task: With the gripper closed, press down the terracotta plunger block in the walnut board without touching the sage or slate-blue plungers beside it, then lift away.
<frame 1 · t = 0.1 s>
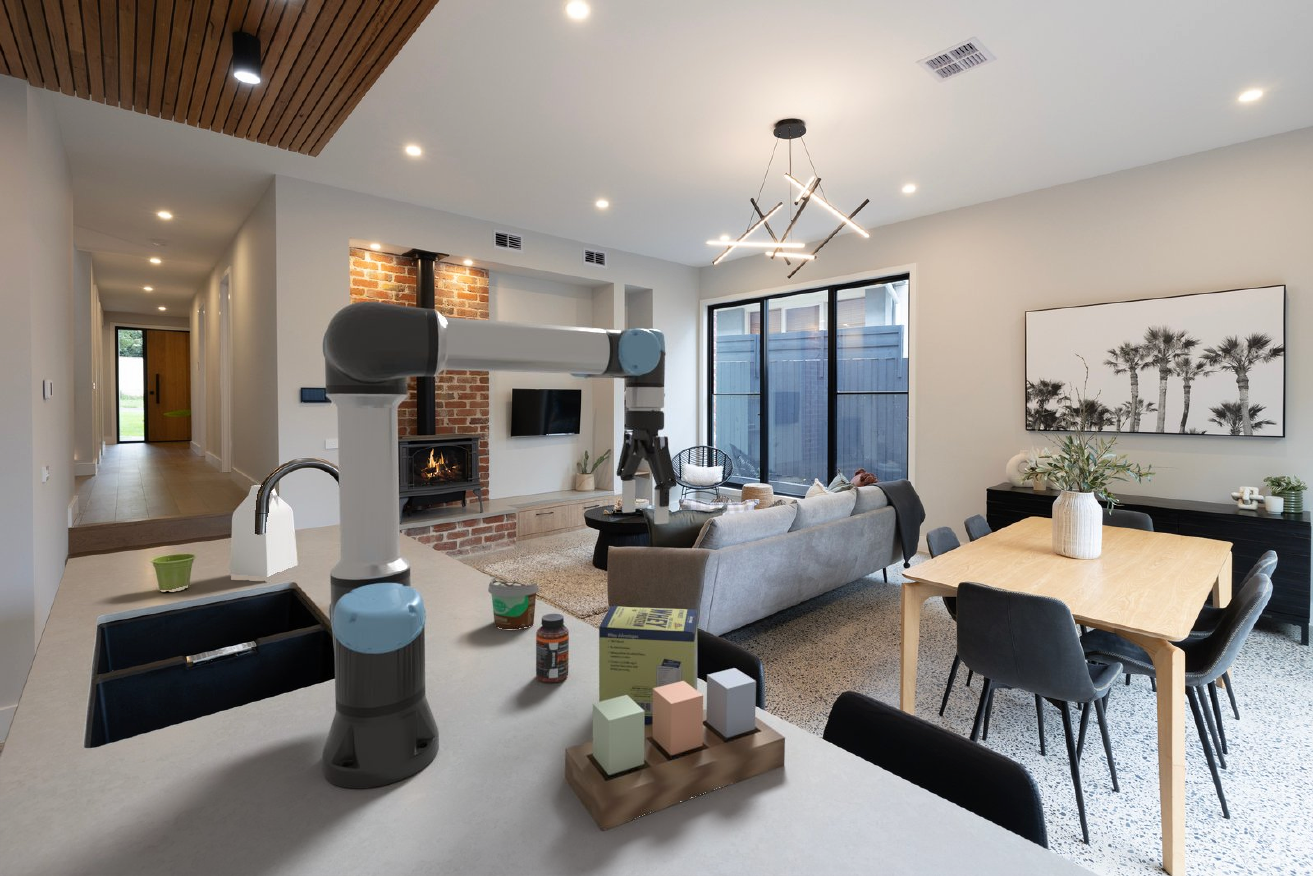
hand: (644, 517, 122), 28 cm above the worktop, tool pointing down, fingers open, 13 cm apart
walnut board: (676, 771, 85), on the worktop
plant pot: (174, 590, 164), on the worktop
supplement bottle: (552, 678, 114), on the worktop
plunger sage: (618, 733, 80), point 8 cm above the worktop, slide at 0.0 cm
plunger terracotta: (677, 716, 85), point 8 cm above the worktop, slide at 0.0 cm
milk: (265, 576, 178), on the worktop
protein box: (649, 710, 103), on the worktop
plunger slate: (730, 701, 89), point 8 cm above the worktop, slide at 0.0 cm
food container: (508, 627, 139), on the worktop
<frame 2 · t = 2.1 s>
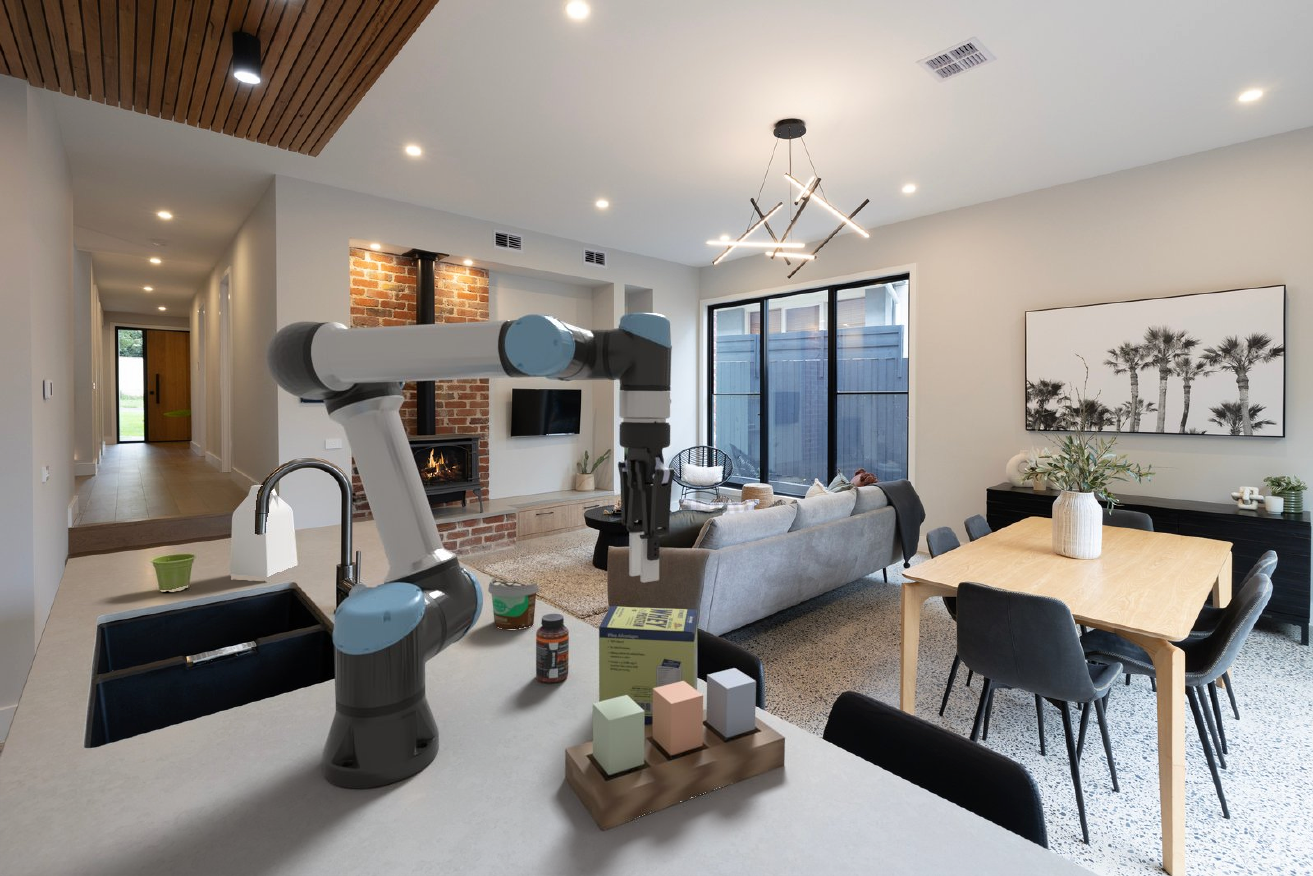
hand: (643, 577, 93), 25 cm above the worktop, tool pointing down, fingers open, 3 cm apart
nothing on the worktop moved.
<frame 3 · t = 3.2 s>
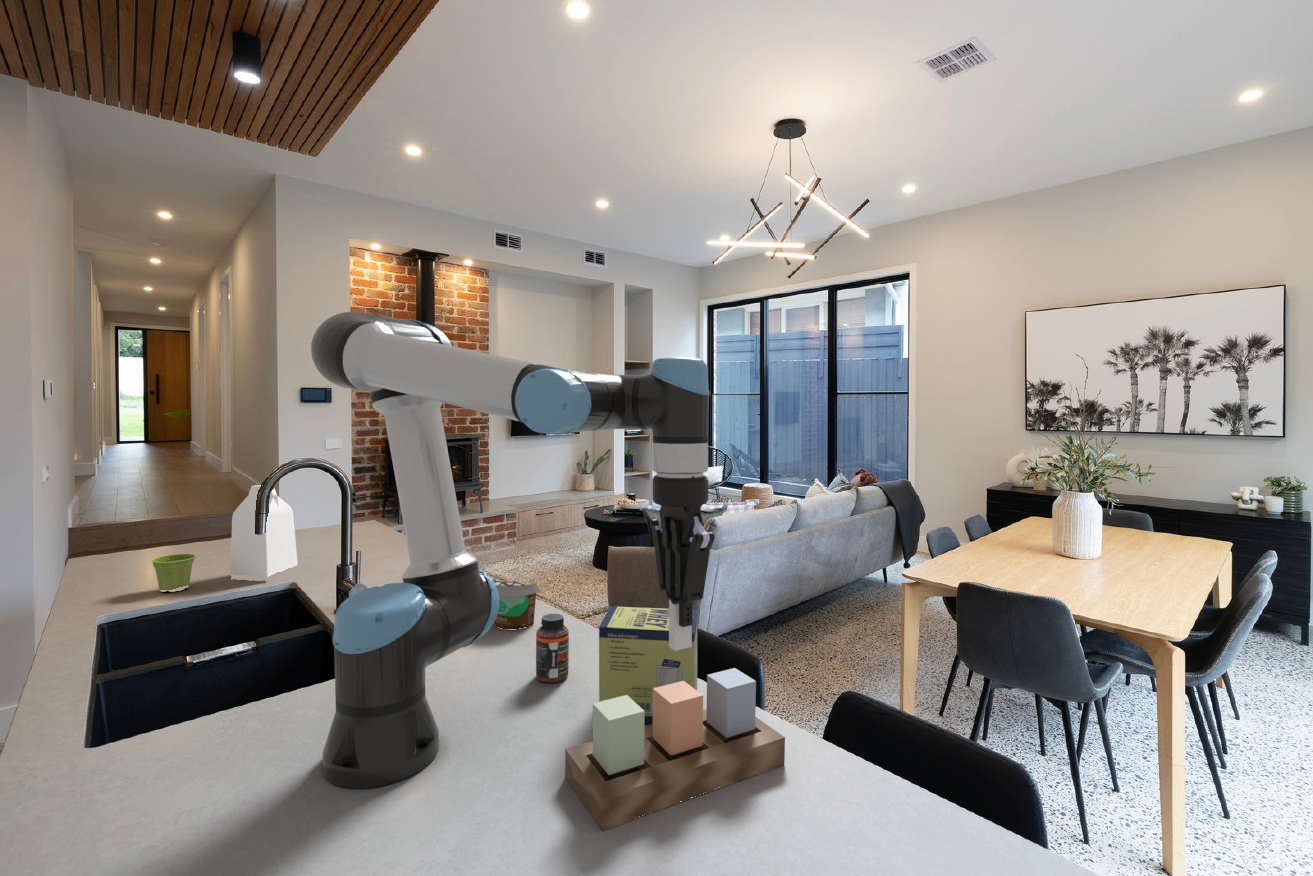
hand: (680, 646, 84), 18 cm above the worktop, tool pointing down, fingers closed
nothing on the worktop moved.
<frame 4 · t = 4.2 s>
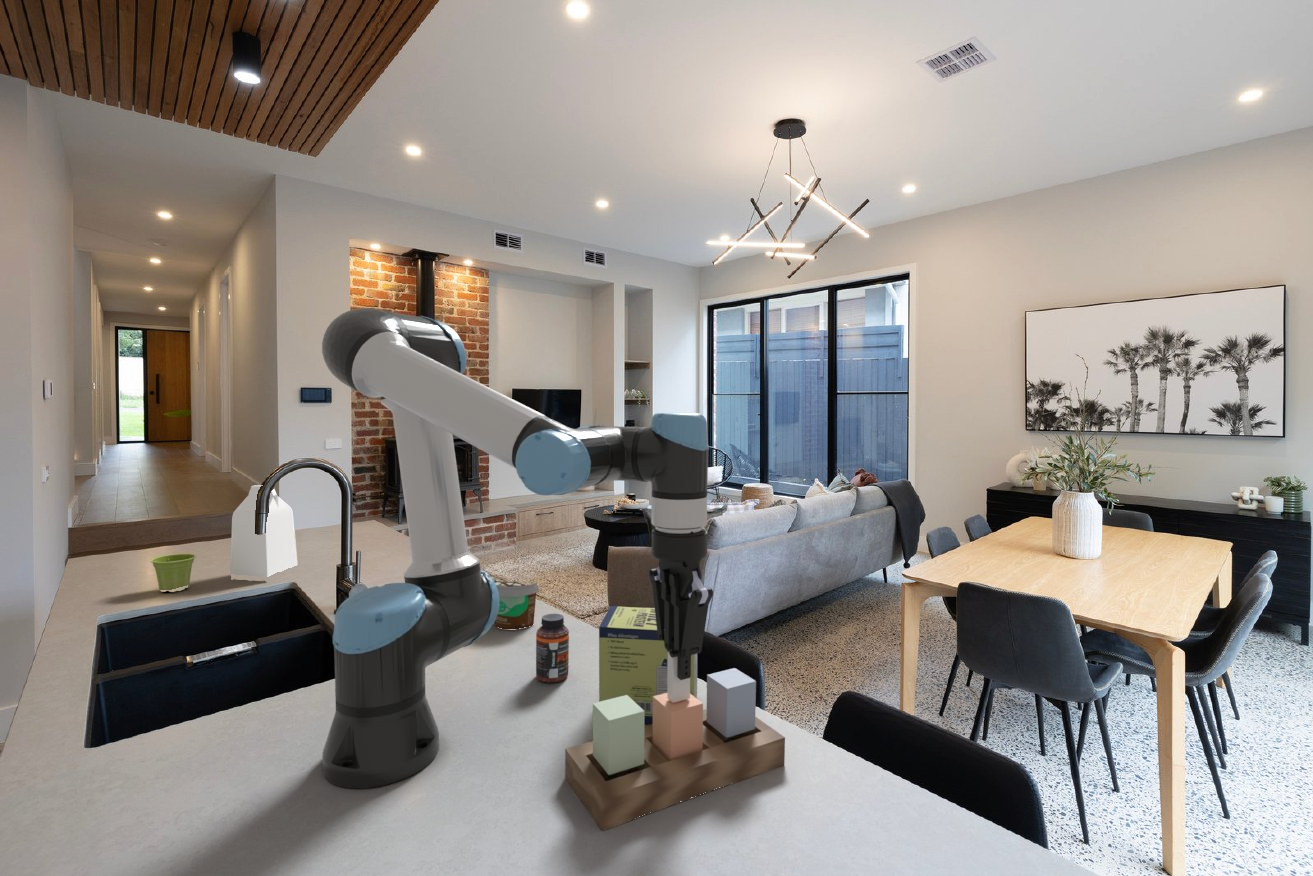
hand: (678, 698, 85), 10 cm above the worktop, tool pointing down, fingers closed
plunger terracotta: (677, 724, 85), point 7 cm above the worktop, slide at 1.1 cm, touching gripper
everything else where it was.
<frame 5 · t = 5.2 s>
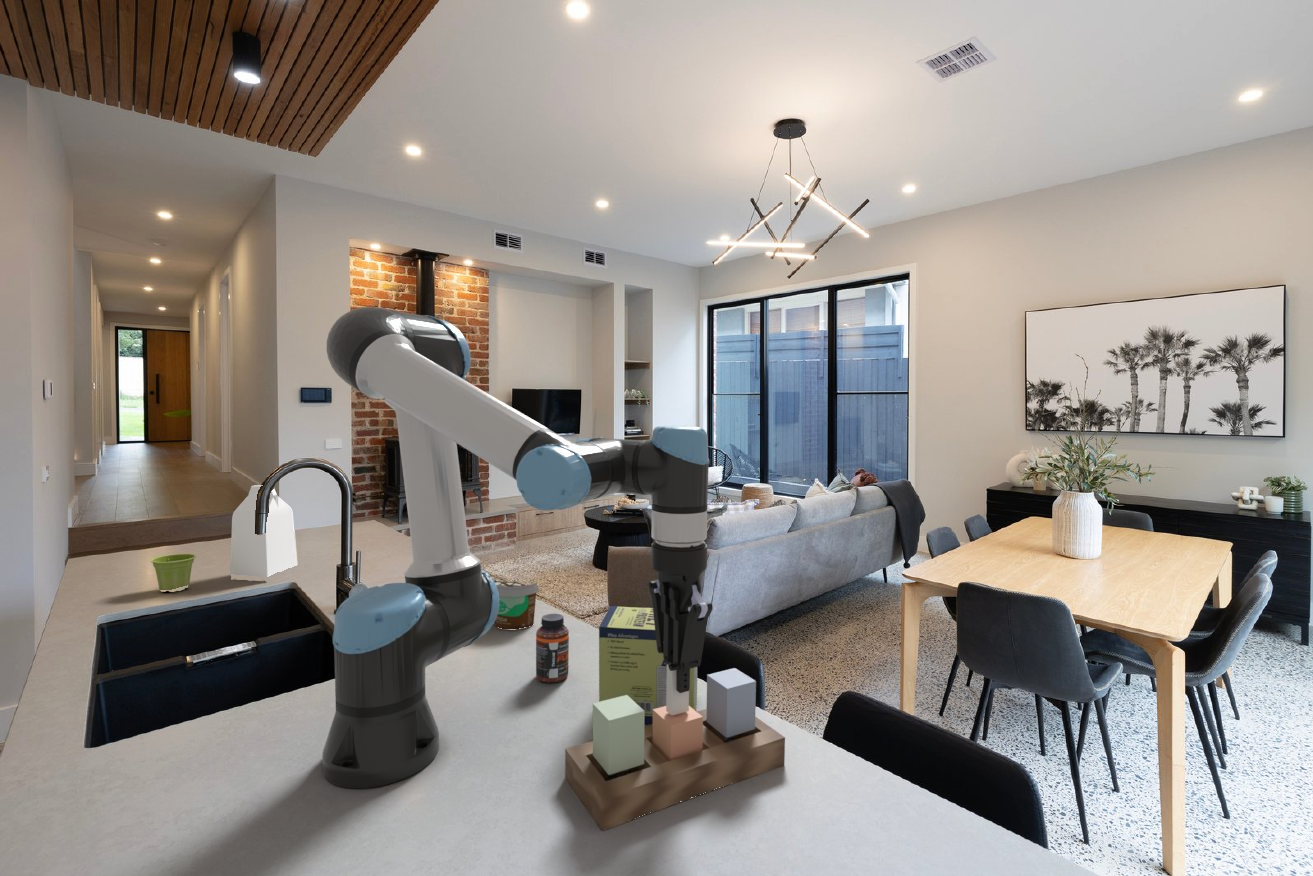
hand: (677, 710, 85), 9 cm above the worktop, tool pointing down, fingers closed
plunger terracotta: (677, 737, 85), point 5 cm above the worktop, slide at 3.0 cm
everything else where it was.
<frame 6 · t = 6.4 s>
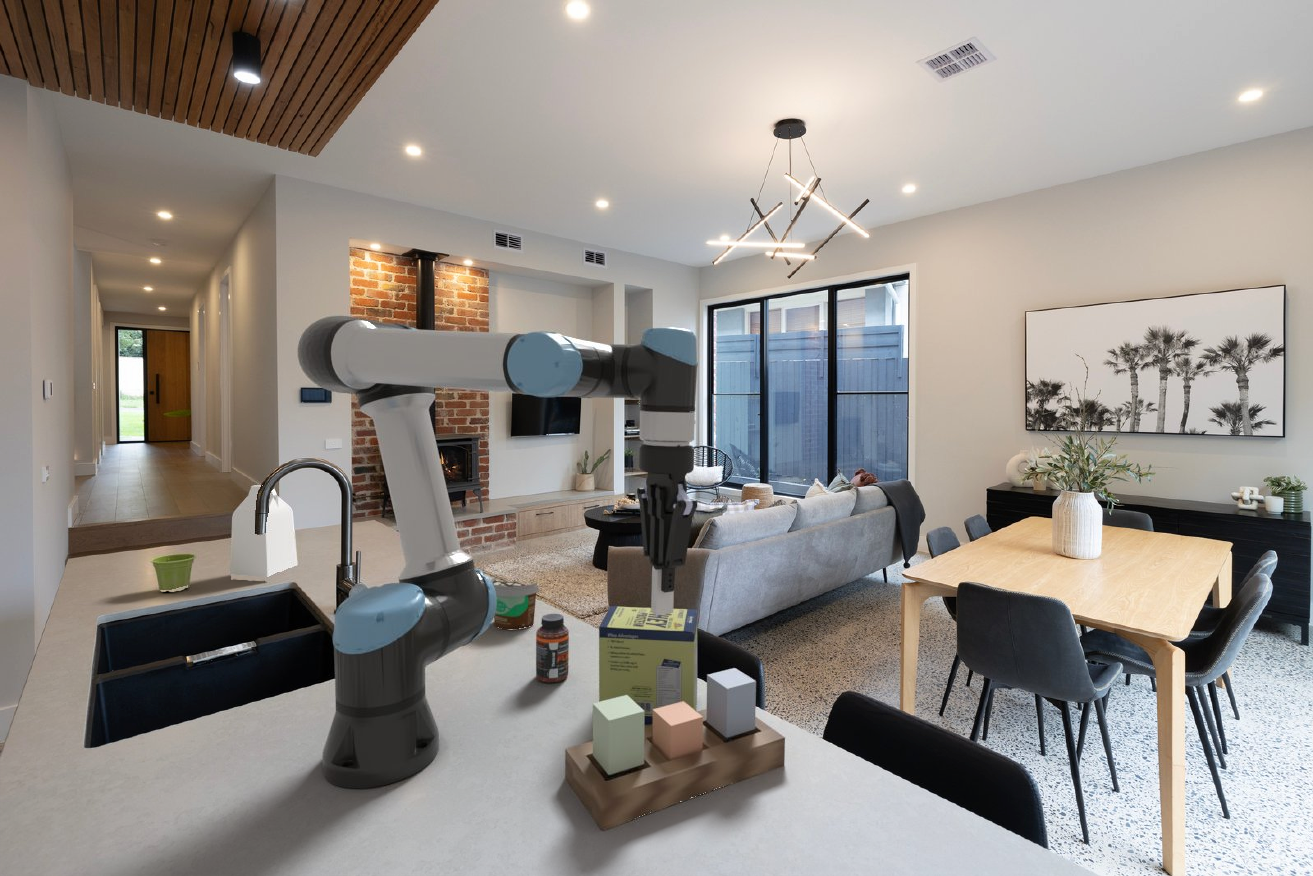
hand: (662, 612, 86), 22 cm above the worktop, tool pointing down, fingers closed
nothing on the worktop moved.
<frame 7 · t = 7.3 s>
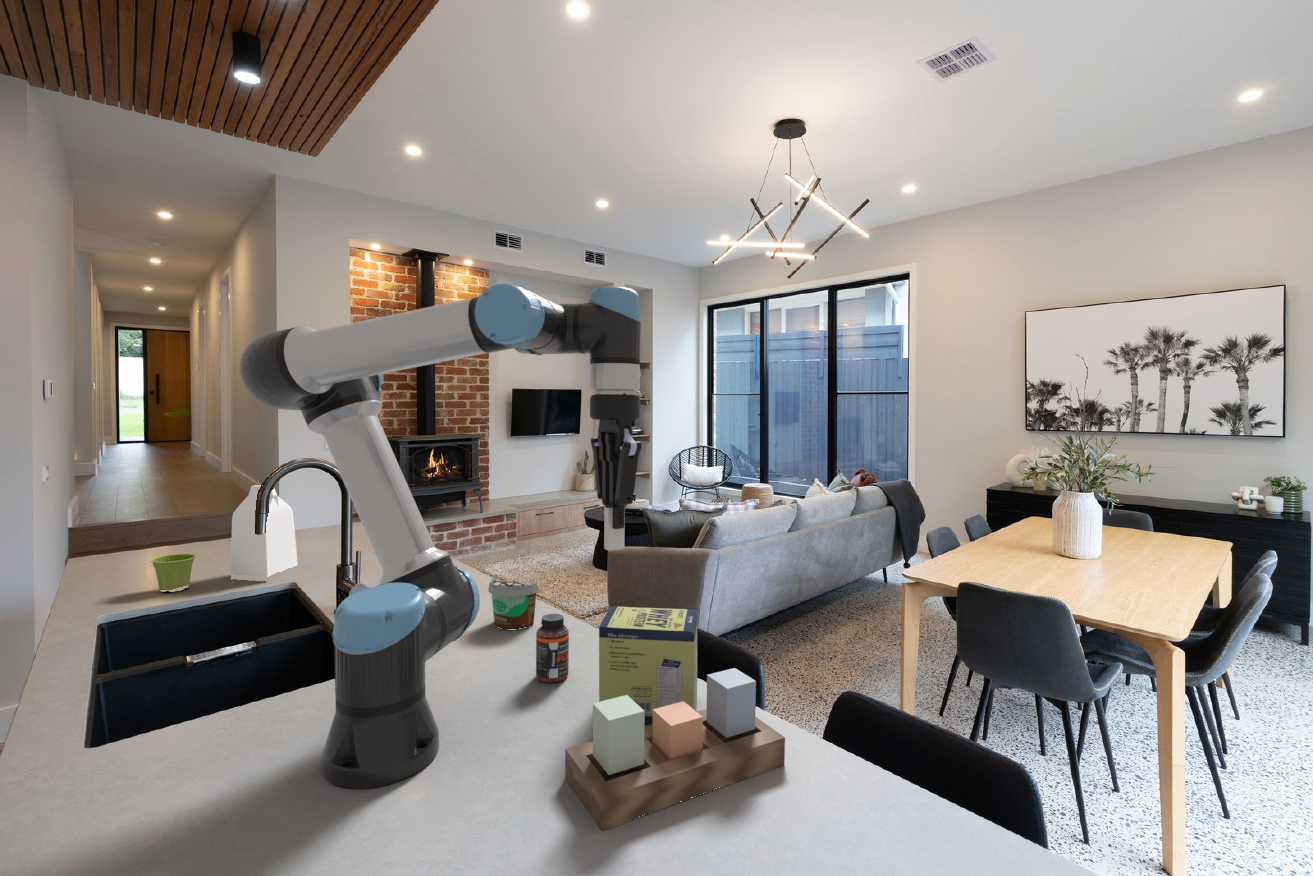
hand: (614, 548, 94), 28 cm above the worktop, tool pointing down, fingers closed
nothing on the worktop moved.
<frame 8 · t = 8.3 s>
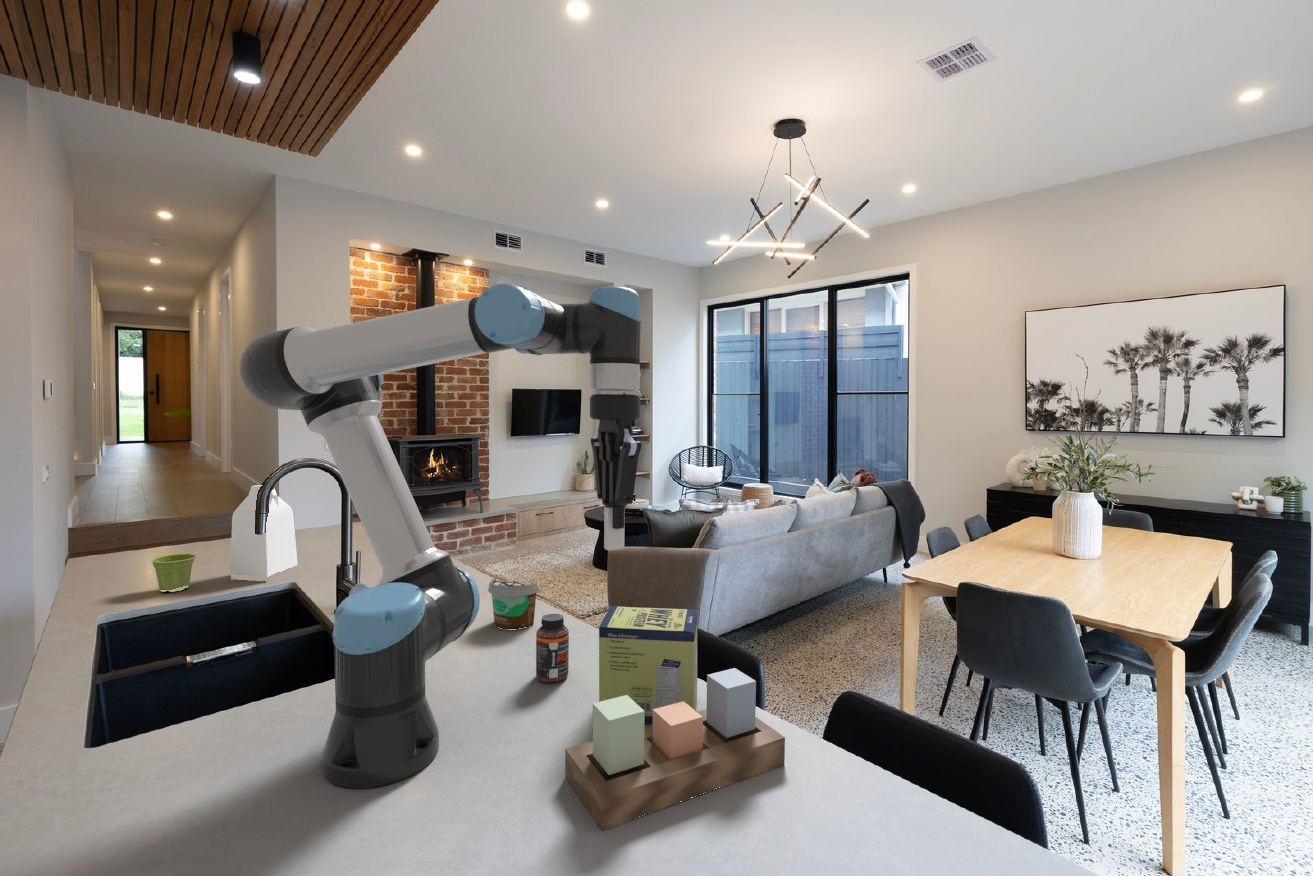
hand: (614, 548, 94), 28 cm above the worktop, tool pointing down, fingers closed
nothing on the worktop moved.
at the end: plunger terracotta slide at 3.0 cm; plunger sage slide at 0.0 cm; plunger slate slide at 0.0 cm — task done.
